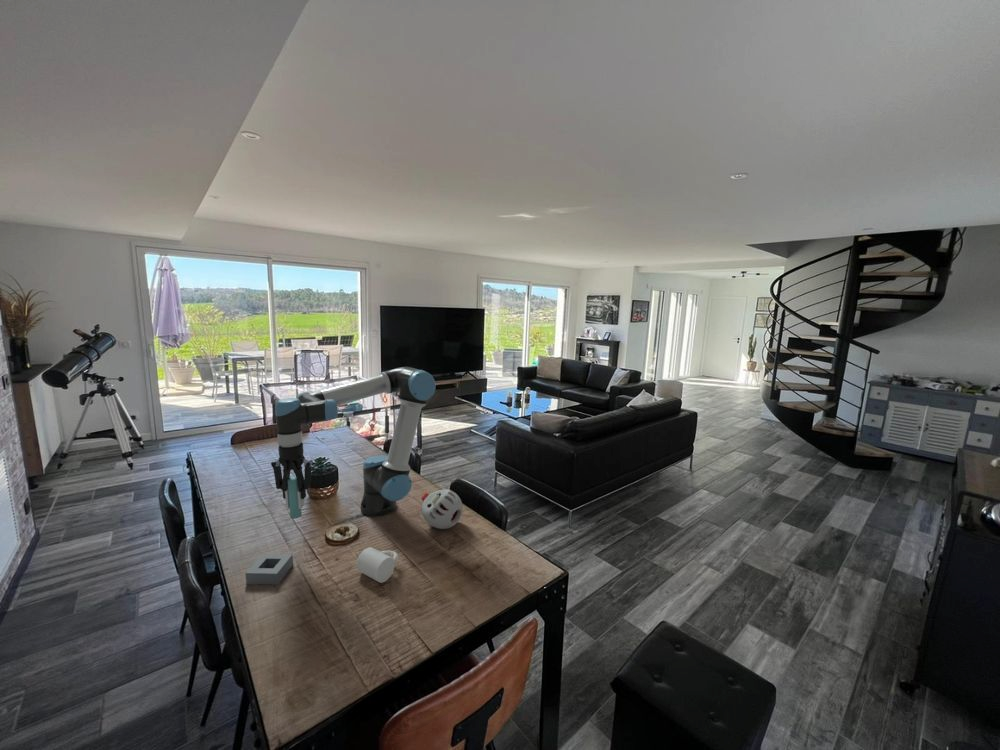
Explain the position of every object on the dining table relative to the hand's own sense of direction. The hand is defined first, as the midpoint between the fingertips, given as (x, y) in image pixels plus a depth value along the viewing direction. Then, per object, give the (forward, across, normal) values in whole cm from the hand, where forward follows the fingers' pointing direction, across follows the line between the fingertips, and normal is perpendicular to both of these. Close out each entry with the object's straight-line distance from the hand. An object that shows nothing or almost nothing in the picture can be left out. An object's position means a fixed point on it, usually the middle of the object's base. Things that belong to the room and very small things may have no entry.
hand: (295, 506), depth 141 cm
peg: (+3, 0, 0) cm, 3 cm away
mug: (+19, -32, +9) cm, 38 cm away
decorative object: (+19, -48, -21) cm, 56 cm away
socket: (+18, +4, +11) cm, 22 cm away
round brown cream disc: (+19, -11, -12) cm, 25 cm away
